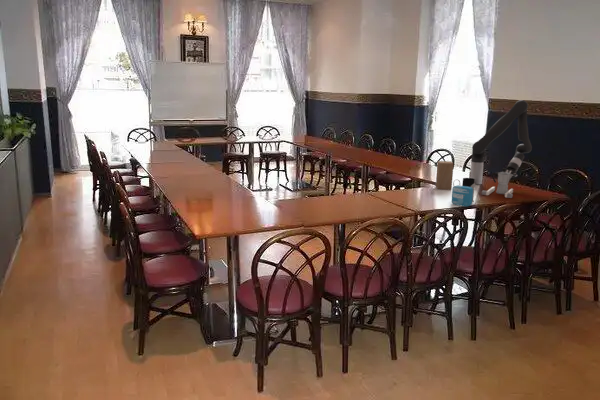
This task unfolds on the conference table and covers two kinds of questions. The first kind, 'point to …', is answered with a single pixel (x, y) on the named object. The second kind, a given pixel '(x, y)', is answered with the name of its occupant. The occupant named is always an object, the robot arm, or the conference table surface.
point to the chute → (507, 194)
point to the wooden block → (444, 175)
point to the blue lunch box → (468, 184)
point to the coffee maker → (502, 181)
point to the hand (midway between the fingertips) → (503, 183)
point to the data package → (462, 195)
